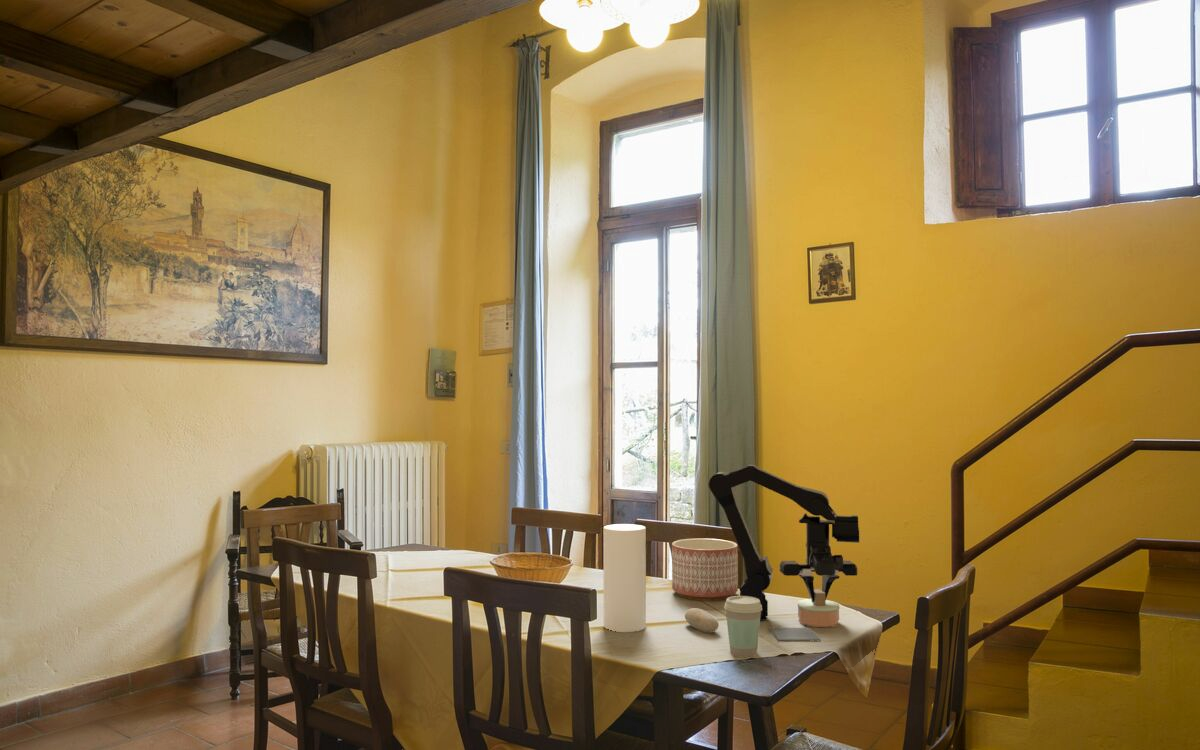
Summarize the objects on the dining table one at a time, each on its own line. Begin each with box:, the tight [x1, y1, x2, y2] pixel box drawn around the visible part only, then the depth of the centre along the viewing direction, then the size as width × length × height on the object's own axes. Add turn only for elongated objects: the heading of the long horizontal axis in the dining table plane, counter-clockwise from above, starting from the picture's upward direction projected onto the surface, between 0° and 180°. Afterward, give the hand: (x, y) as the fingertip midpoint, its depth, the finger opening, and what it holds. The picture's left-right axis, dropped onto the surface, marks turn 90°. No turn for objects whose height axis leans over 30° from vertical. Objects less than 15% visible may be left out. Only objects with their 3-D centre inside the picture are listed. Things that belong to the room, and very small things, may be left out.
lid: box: [797, 588, 841, 612], centre depth 209 cm, size 10×10×4 cm
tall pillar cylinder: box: [603, 523, 647, 633], centre depth 206 cm, size 11×11×25 cm
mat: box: [768, 627, 821, 642], centre depth 198 cm, size 10×10×1 cm
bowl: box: [797, 606, 840, 628], centre depth 209 cm, size 10×10×4 cm
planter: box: [671, 537, 739, 601], centre depth 240 cm, size 19×19×15 cm
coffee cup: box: [723, 595, 762, 658], centre depth 184 cm, size 8×8×12 cm
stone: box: [684, 607, 720, 633], centre depth 203 cm, size 6×6×12 cm
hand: (818, 601), depth 209 cm, fingers closed on lid, 2 cm apart
